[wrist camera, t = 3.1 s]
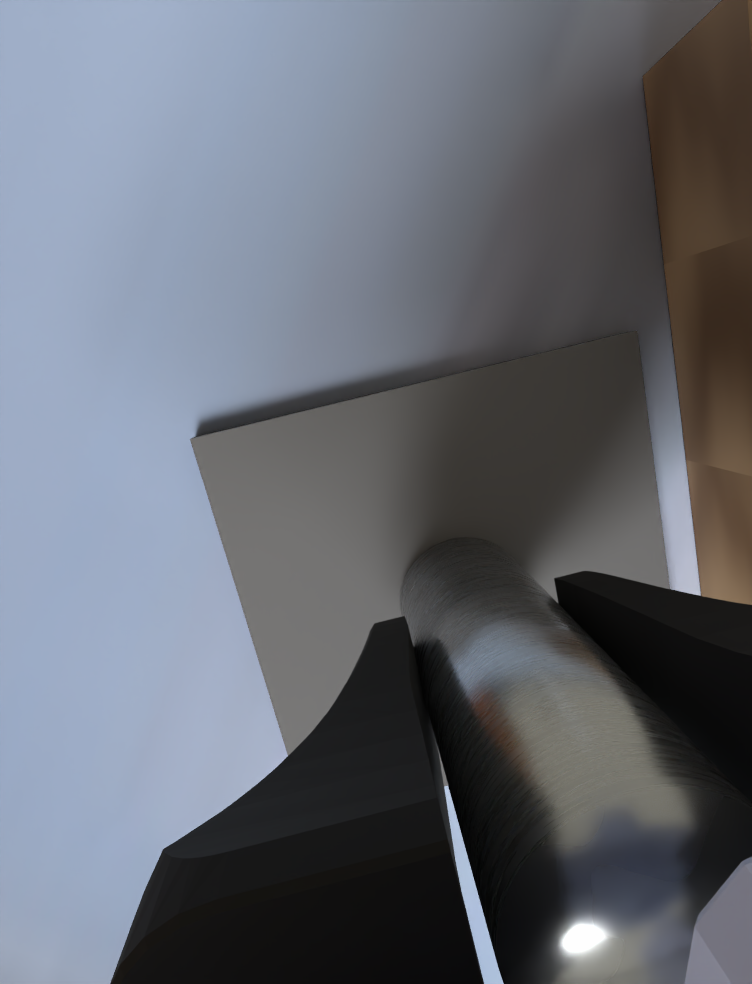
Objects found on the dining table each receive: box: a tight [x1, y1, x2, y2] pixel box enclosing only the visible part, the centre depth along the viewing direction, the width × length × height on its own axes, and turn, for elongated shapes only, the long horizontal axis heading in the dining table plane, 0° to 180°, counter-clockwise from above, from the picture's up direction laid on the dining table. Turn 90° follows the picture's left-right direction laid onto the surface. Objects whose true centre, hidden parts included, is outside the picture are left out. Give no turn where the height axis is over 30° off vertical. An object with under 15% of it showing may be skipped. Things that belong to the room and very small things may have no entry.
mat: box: [190, 331, 670, 786], centre depth 14 cm, size 10×10×1 cm
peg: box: [400, 537, 752, 984], centre depth 9 cm, size 3×3×8 cm
